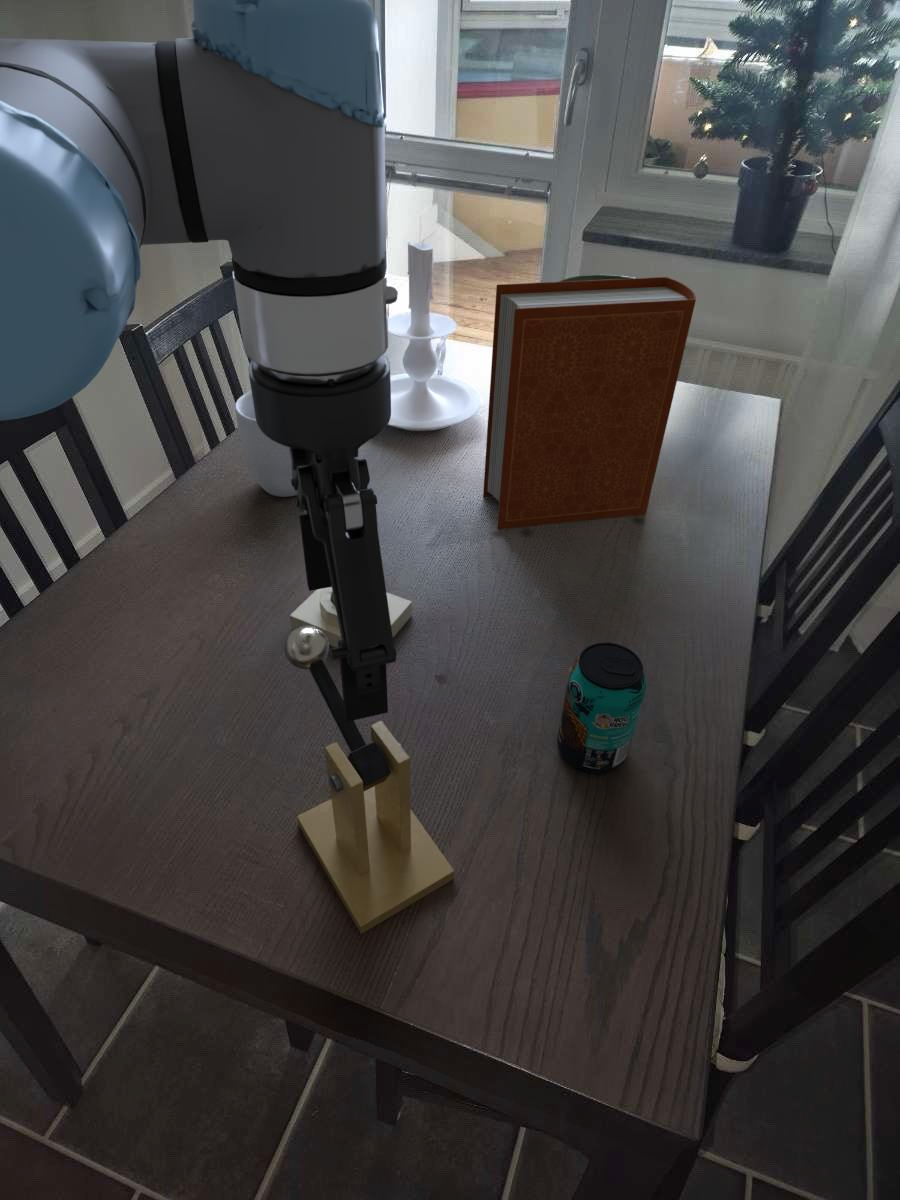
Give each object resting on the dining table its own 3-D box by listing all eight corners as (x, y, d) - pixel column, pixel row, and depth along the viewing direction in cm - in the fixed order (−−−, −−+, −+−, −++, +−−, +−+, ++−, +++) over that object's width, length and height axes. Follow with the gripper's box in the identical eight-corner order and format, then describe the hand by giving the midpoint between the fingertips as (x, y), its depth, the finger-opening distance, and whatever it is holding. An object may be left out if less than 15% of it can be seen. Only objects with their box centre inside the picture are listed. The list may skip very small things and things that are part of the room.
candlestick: (498, 389, 137) (510, 221, 119) (463, 455, 119) (471, 269, 101) (390, 373, 141) (386, 209, 123) (340, 434, 123) (326, 252, 105)
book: (497, 529, 104) (515, 309, 84) (483, 497, 110) (496, 284, 90) (652, 513, 108) (704, 299, 88) (630, 483, 114) (674, 276, 94)
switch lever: (275, 645, 63) (278, 627, 60) (315, 630, 65) (319, 611, 62) (352, 798, 59) (359, 787, 56) (392, 778, 61) (401, 766, 58)
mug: (340, 457, 118) (334, 377, 109) (359, 494, 110) (354, 411, 101) (243, 472, 113) (228, 390, 105) (255, 512, 106) (240, 427, 97)
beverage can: (559, 716, 79) (574, 632, 71) (627, 727, 78) (650, 643, 70) (553, 771, 74) (569, 686, 66) (626, 783, 73) (651, 699, 65)
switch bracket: (298, 824, 68) (279, 724, 59) (385, 779, 72) (380, 680, 63) (361, 934, 61) (350, 840, 52) (454, 878, 65) (460, 781, 56)
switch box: (291, 629, 88) (287, 603, 85) (335, 586, 94) (333, 560, 91) (372, 662, 84) (370, 636, 81) (412, 615, 90) (412, 589, 88)
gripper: (461, 461, 32) (448, 767, 46) (340, 274, 50) (356, 535, 64) (284, 487, 30) (326, 798, 44) (223, 283, 48) (266, 550, 62)
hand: (344, 643), depth 54 cm, fingers open, 13 cm apart
